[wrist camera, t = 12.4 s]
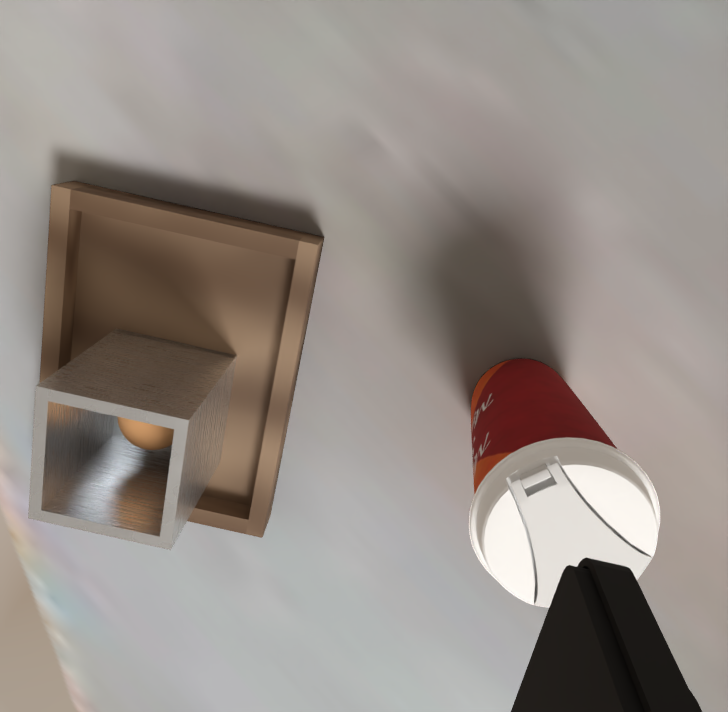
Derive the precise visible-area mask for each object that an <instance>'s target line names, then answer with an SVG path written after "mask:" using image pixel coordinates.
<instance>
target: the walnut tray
mask: <svg viewBox="0 0 728 712" xmlns="http://www.w3.org/2000/svg"><path fill="white" fill-rule="evenodd" d="M323 241H324V237H321V236H317V235H312V234H308V233H304V232H299V231H295V230H290V229H286V228H281V227H277V226H272V225H268V224H264V223H259V222H255V221H250V220H246V219H241V218H237V217H232V216H228V215H224V214H219V213H215V212H210V211H206V210H201V209H197V208H192V207H188V206H184V205H179V204H175V203H170V202H166V201H161V200H157V199H152V198H148V197H144V196H139V195H135V194H130V193H126V192H121V191H117V190H112V189H108V188H104V187H99V186H95V185H90V184H86V183H81V182H77V181H71V182H65V183H60V184H55V185H52V186H51V203H50V220H49V236H48V253H47V270H46V286H45V303H44V320H43V337H42V353H41V370H40V383H41V382H42V381H44V380H45V379H47V378H48V377H49V376H51V375H52V374H54V373H55V372H56V371H58V370H59V369H61V368H62V367H63V366H65V365H66V364H68V363H69V362H70V361H72V360H73V359H75V358H76V357H77V356H79V355H80V354H82V353H83V352H84V351H86V350H87V349H89V348H90V347H91V346H93V345H94V344H96V343H97V342H98V341H100V340H101V339H103V338H104V337H105V336H107V335H108V334H110V333H111V332H112V331H114V330H115V329H117V328H118V329H122V330H126V331H131V332H135V333H140V334H144V335H149V336H153V337H158V338H162V339H167V340H171V341H176V342H180V343H184V344H189V345H193V346H198V347H202V348H207V349H211V350H216V351H220V352H225V353H229V354H234V355H237V359H236V365H235V371H234V378H233V384H232V390H231V396H230V403H229V409H228V415H227V421H226V427H225V434H224V440H223V446H222V452H221V459H220V463H219V465H218V467H217V468H216V470H215V472H214V474H213V476H212V477H211V479H210V481H209V483H208V484H207V486H206V488H205V490H204V492H203V493H202V495H201V497H200V499H199V500H198V502H197V504H196V506H195V508H194V509H193V511H192V513H191V515H190V516H189V518H188V520H187V521H190V522H194V523H199V524H203V525H208V526H212V527H217V528H221V529H226V530H230V531H235V532H239V533H244V534H248V535H253V536H257V537H261V538H262V537H263V534H264V531H265V529H266V526H267V523H268V520H269V518H270V514H271V509H272V504H273V499H274V494H275V489H276V484H277V478H278V473H279V468H280V463H281V458H282V453H283V447H284V442H285V437H286V432H287V427H288V422H289V416H290V411H291V406H292V401H293V396H294V391H295V385H296V380H297V375H298V370H299V365H300V360H301V354H302V349H303V344H304V339H305V334H306V329H307V324H308V318H309V313H310V308H311V303H312V298H313V293H314V287H315V282H316V277H317V272H318V267H319V262H320V256H321V251H322V246H323Z"/></svg>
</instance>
